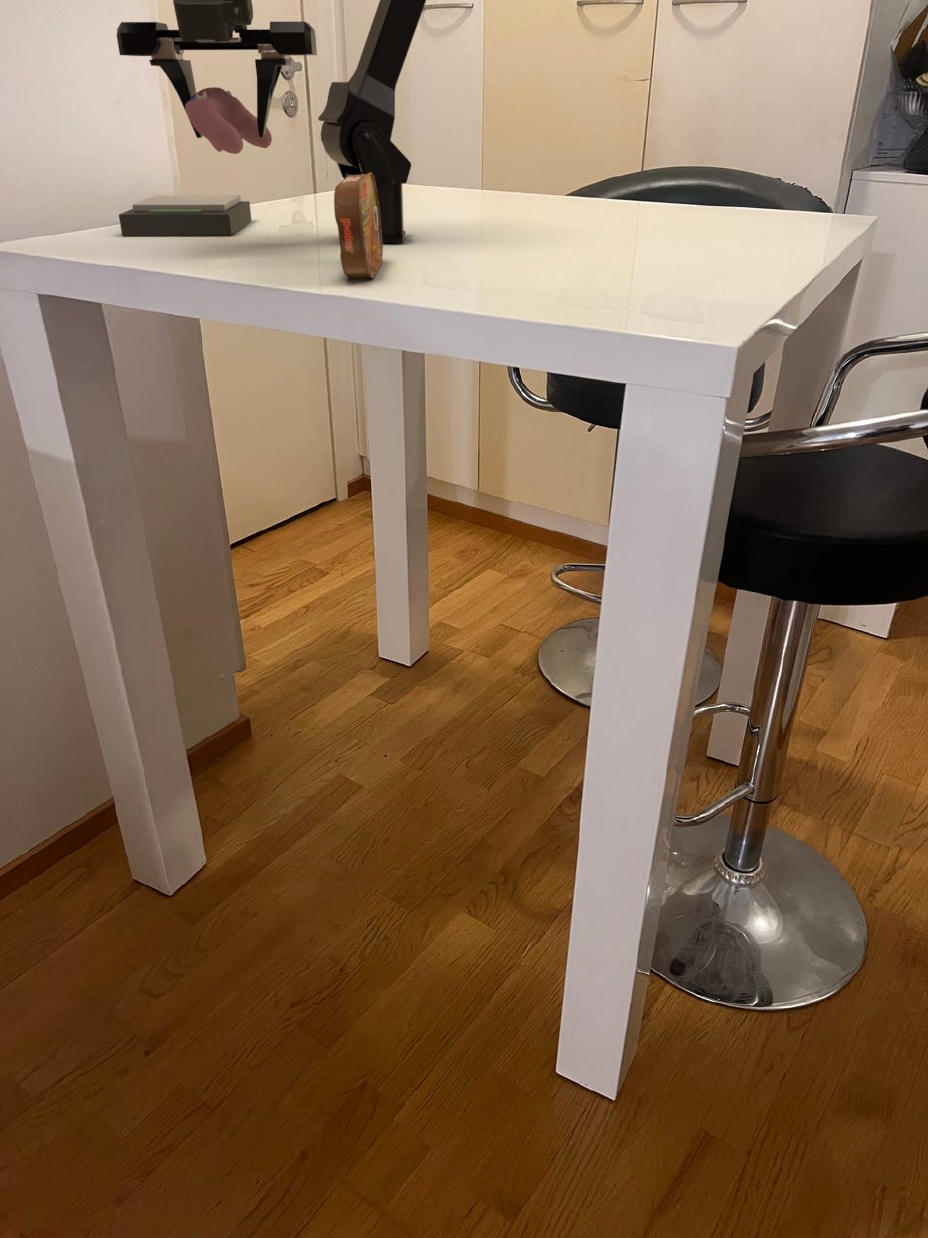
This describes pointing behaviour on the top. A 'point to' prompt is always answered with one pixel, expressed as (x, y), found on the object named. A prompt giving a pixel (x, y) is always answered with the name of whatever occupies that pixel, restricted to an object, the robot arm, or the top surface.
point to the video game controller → (224, 120)
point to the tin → (359, 225)
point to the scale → (186, 216)
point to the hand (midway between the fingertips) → (230, 137)
